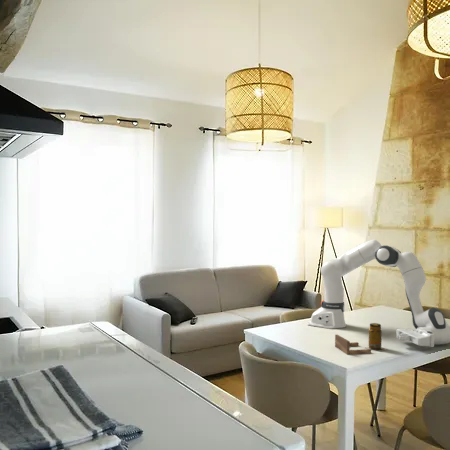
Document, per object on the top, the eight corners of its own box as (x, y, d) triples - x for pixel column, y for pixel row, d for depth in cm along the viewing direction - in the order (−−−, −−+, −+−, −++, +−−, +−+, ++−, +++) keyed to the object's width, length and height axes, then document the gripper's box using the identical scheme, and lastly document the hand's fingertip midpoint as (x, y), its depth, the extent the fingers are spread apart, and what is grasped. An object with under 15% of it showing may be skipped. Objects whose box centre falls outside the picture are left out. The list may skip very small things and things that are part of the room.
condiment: (371, 345, 239) (372, 321, 239) (387, 348, 234) (388, 324, 233) (364, 348, 234) (365, 324, 234) (381, 351, 228) (381, 327, 228)
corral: (357, 345, 239) (357, 333, 239) (370, 353, 226) (371, 340, 226) (334, 346, 237) (335, 334, 236) (347, 354, 223) (347, 341, 223)
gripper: (411, 325, 249) (387, 326, 246) (436, 334, 229) (410, 336, 227) (410, 337, 250) (386, 338, 247) (435, 347, 230) (410, 349, 227)
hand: (398, 337), depth 236 cm, fingers closed
